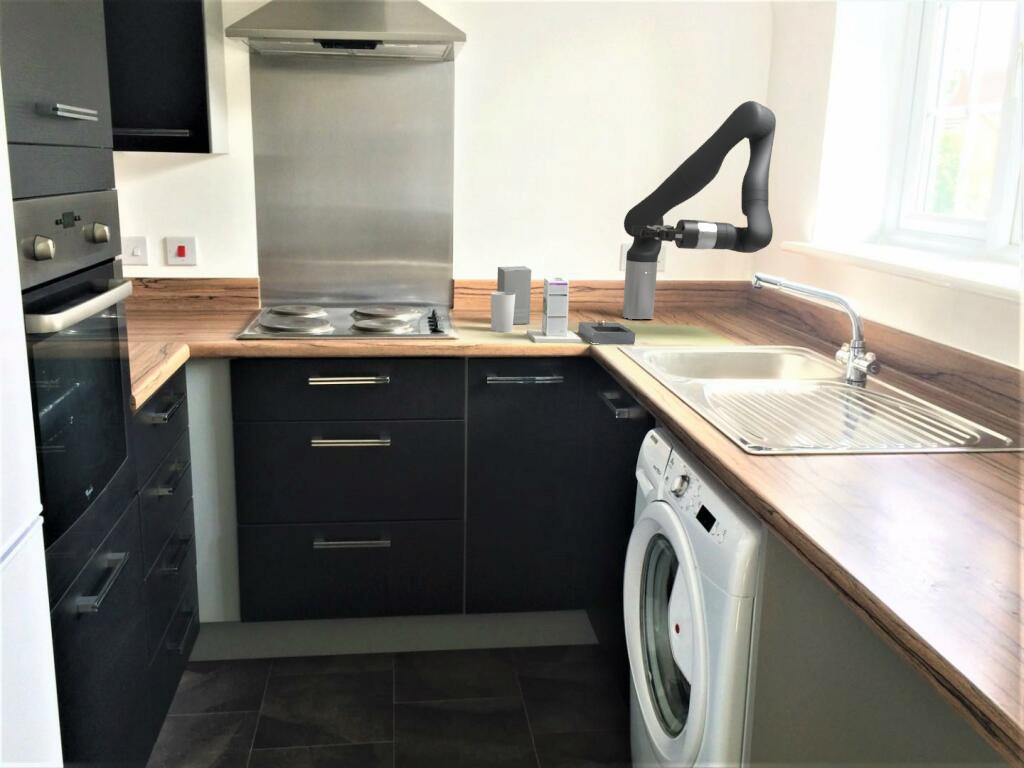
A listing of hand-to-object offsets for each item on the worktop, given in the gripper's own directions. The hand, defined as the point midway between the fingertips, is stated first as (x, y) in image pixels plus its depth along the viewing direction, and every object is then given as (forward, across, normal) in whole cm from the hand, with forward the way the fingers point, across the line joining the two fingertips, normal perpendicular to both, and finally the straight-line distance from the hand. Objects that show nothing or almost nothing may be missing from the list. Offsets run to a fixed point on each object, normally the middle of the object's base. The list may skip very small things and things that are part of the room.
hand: (636, 231), depth 244 cm
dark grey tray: (+7, +4, +28) cm, 29 cm away
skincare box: (+28, -18, +29) cm, 44 cm away
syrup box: (+21, +5, +27) cm, 35 cm away
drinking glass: (+33, -6, +29) cm, 44 cm away
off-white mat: (+21, +5, +28) cm, 35 cm away
